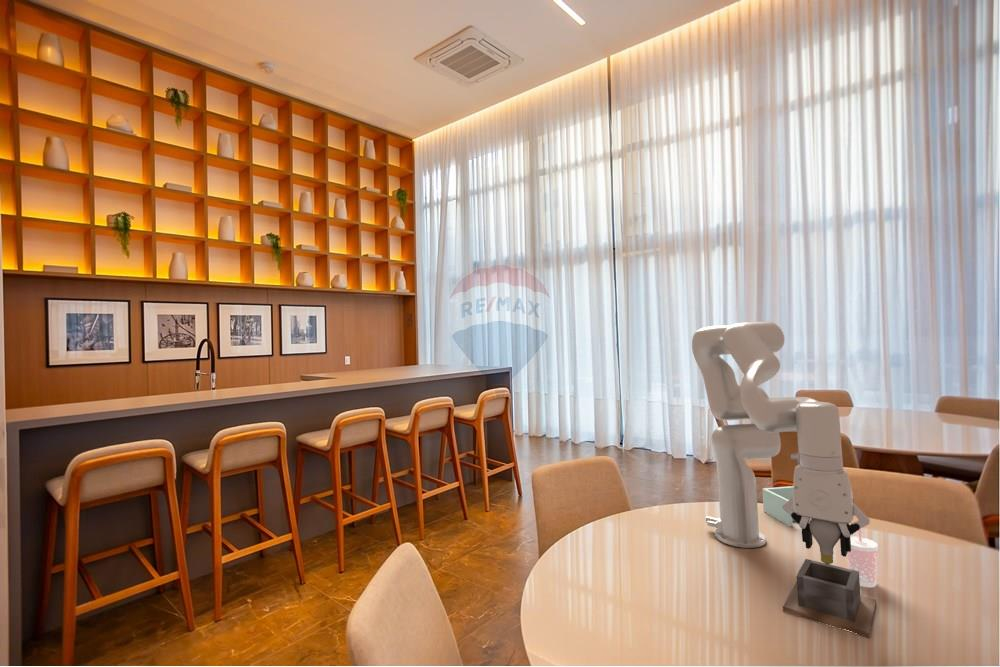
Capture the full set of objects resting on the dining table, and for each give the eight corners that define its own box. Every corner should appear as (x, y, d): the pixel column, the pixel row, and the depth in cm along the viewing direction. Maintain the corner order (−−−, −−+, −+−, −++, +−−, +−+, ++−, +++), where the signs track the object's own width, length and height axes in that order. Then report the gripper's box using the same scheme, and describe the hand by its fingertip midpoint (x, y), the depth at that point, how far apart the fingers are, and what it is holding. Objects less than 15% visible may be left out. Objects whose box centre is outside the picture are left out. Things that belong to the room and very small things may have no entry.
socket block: (783, 611, 96) (780, 577, 96) (797, 583, 106) (795, 552, 107) (869, 638, 87) (866, 600, 87) (876, 604, 97) (874, 570, 97)
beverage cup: (871, 592, 101) (867, 527, 102) (840, 580, 107) (836, 518, 107) (886, 584, 104) (881, 520, 104) (855, 572, 110) (851, 512, 110)
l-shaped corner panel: (789, 527, 137) (788, 501, 137) (763, 512, 149) (762, 488, 149) (828, 523, 138) (826, 498, 138) (799, 509, 150) (798, 485, 150)
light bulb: (849, 571, 93) (846, 520, 93) (818, 569, 94) (815, 519, 95) (835, 558, 99) (832, 510, 99) (806, 557, 100) (803, 510, 100)
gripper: (769, 460, 100) (775, 546, 100) (871, 472, 88) (878, 569, 88) (778, 453, 106) (783, 534, 105) (874, 463, 94) (881, 554, 93)
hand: (826, 549), depth 97 cm, fingers closed on light bulb, 5 cm apart
